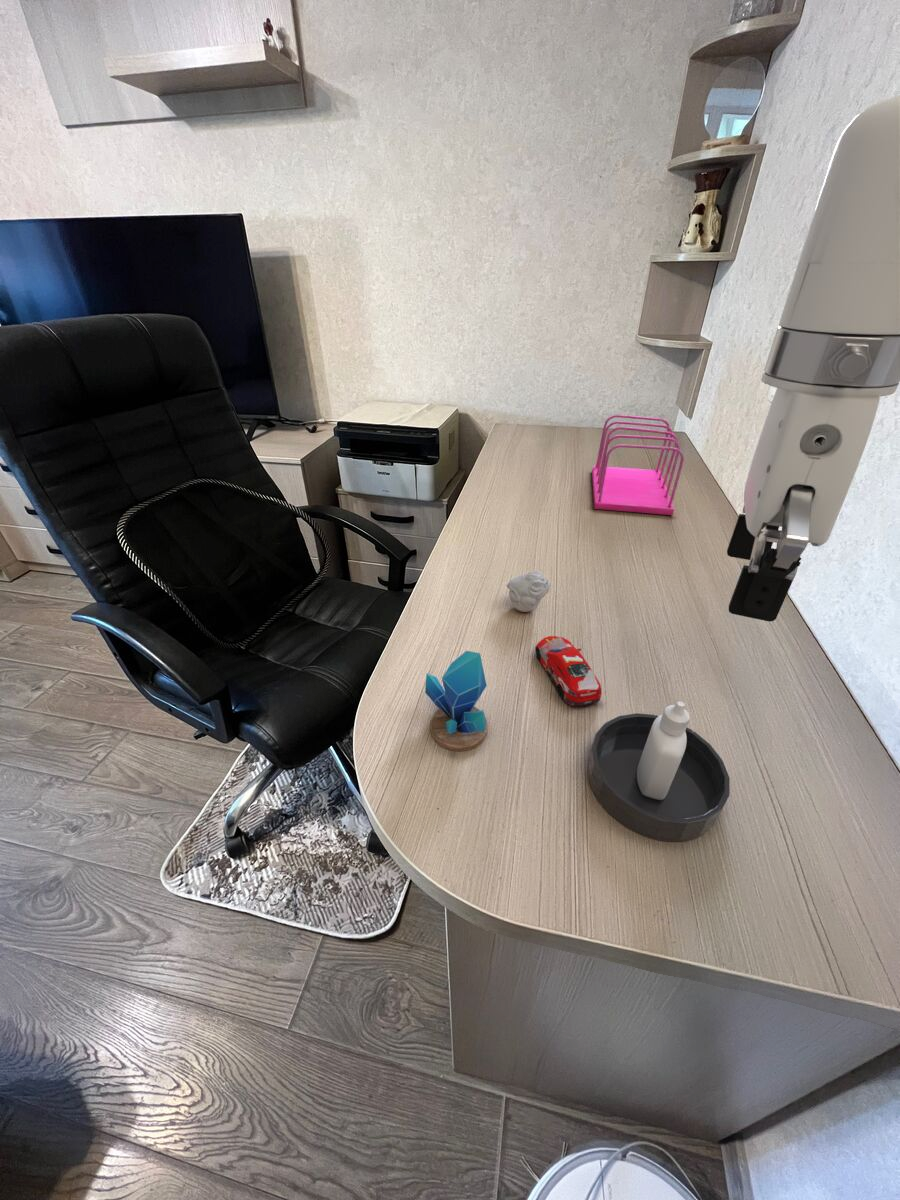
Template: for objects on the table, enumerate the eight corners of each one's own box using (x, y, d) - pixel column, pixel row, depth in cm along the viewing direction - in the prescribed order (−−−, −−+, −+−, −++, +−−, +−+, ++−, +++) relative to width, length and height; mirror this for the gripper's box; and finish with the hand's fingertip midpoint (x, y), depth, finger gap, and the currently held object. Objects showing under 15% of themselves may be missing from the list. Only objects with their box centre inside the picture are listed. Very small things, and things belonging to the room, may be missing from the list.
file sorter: (658, 477, 133) (673, 416, 125) (672, 516, 113) (692, 447, 104) (591, 471, 136) (602, 412, 127) (593, 509, 116) (606, 442, 107)
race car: (530, 648, 75) (532, 627, 73) (563, 643, 76) (567, 622, 74) (566, 713, 65) (570, 690, 62) (604, 706, 66) (610, 684, 63)
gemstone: (479, 699, 67) (483, 628, 60) (493, 752, 59) (499, 678, 53) (424, 704, 66) (422, 633, 59) (432, 759, 59) (430, 684, 52)
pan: (720, 757, 59) (729, 737, 57) (718, 865, 49) (729, 845, 47) (600, 718, 64) (605, 699, 62) (575, 809, 53) (580, 789, 51)
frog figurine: (545, 622, 80) (550, 586, 76) (502, 616, 82) (505, 580, 78) (548, 601, 85) (553, 566, 81) (507, 596, 87) (510, 561, 83)
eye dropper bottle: (682, 777, 56) (715, 701, 49) (657, 807, 53) (688, 731, 46) (647, 753, 59) (673, 679, 52) (621, 781, 56) (645, 705, 49)
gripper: (953, 393, 25) (814, 658, 34) (872, 346, 38) (787, 547, 47) (780, 382, 27) (695, 631, 37) (760, 341, 40) (701, 533, 50)
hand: (747, 584), depth 42 cm, fingers open, 9 cm apart
